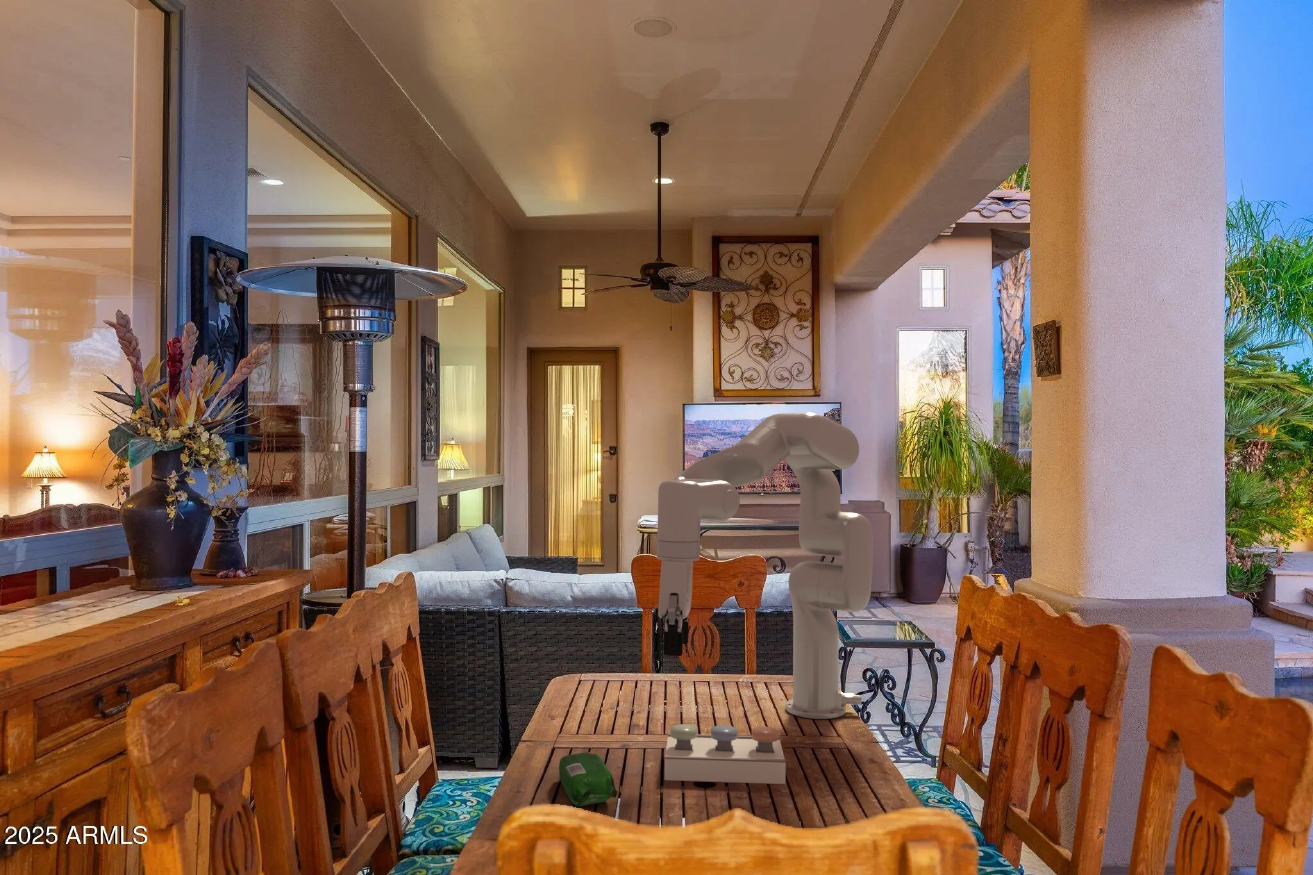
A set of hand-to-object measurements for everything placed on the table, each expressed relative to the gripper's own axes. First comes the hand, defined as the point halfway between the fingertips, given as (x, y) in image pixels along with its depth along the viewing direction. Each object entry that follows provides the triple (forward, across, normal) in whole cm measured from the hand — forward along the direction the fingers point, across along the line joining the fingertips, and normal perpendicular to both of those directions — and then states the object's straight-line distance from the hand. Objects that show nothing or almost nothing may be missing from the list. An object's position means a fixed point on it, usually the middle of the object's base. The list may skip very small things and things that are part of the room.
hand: (676, 649), depth 148 cm
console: (+20, 0, +9) cm, 22 cm away
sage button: (+17, 0, +2) cm, 17 cm away
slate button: (+17, 0, +9) cm, 19 cm away
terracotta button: (+16, -1, +16) cm, 23 cm away
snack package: (+21, +14, -12) cm, 28 cm away
